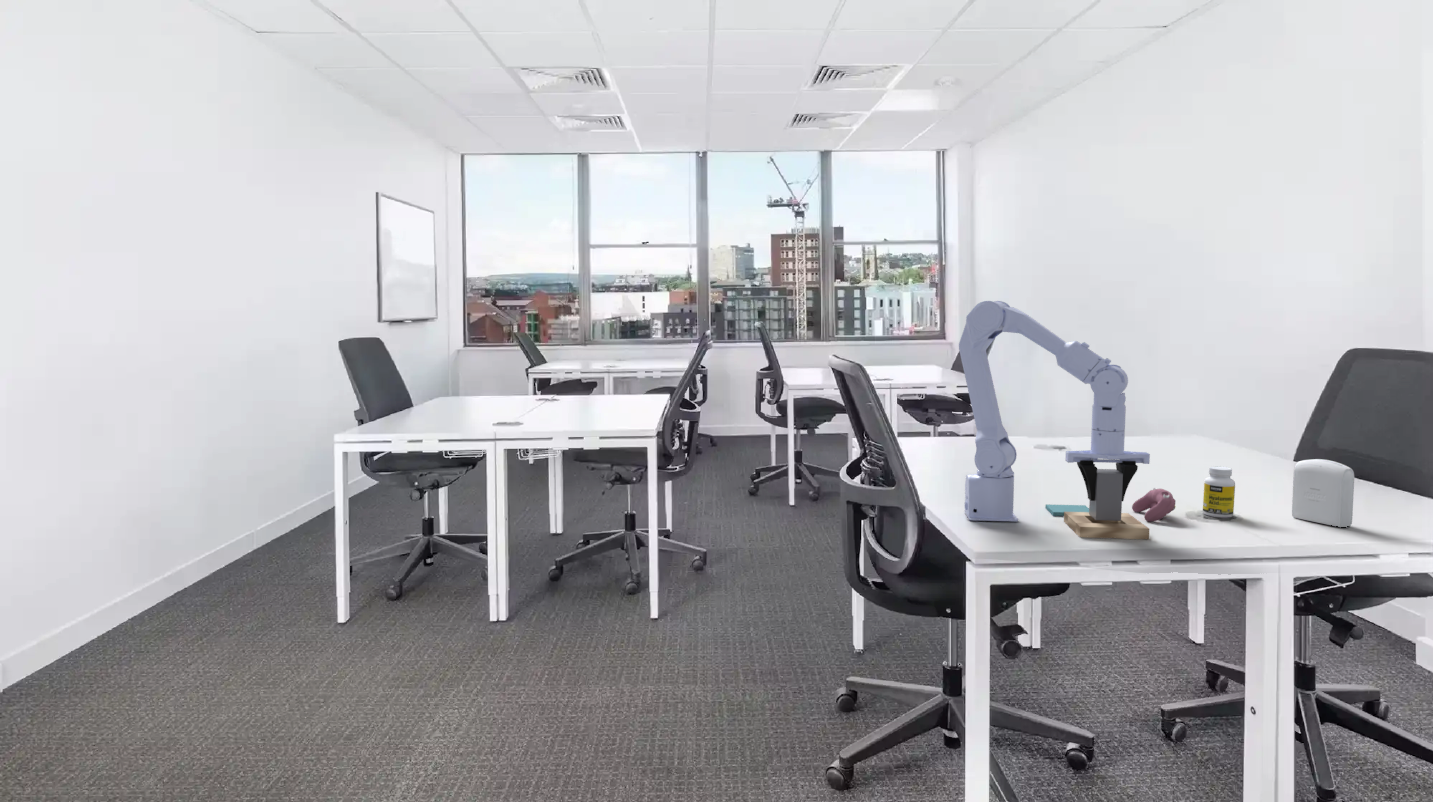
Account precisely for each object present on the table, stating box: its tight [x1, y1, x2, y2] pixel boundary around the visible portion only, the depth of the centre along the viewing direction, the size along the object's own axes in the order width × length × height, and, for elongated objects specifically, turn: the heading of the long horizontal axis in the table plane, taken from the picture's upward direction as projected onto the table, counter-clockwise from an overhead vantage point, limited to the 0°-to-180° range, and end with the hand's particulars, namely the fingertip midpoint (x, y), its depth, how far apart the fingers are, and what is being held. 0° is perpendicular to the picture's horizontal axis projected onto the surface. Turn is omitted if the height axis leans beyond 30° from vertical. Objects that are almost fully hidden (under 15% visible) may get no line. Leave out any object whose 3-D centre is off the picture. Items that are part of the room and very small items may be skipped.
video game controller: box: [1131, 487, 1176, 523], centre depth 168 cm, size 10×5×7 cm, turn 169°
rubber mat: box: [1044, 504, 1089, 517], centre depth 173 cm, size 8×7×1 cm
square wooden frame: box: [1063, 512, 1150, 540], centre depth 158 cm, size 12×12×2 cm
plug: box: [1088, 468, 1123, 521], centre depth 158 cm, size 4×4×9 cm
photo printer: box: [1291, 458, 1355, 528], centre depth 161 cm, size 10×4×12 cm, turn 20°
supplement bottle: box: [1202, 465, 1236, 519], centre depth 168 cm, size 5×5×10 cm
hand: (1105, 499), depth 158 cm, fingers closed on plug, 4 cm apart
